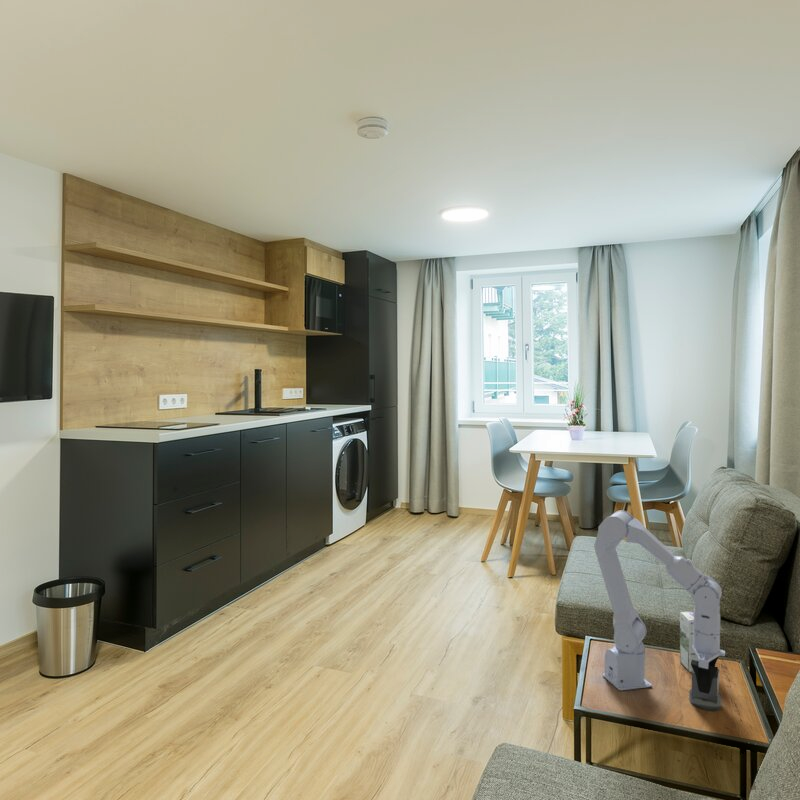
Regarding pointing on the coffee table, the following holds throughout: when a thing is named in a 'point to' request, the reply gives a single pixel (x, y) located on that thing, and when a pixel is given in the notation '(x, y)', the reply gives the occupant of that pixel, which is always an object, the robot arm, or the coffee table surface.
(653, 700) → the coffee table surface
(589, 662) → the coffee table surface
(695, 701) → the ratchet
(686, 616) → the syrup box
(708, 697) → the socket
